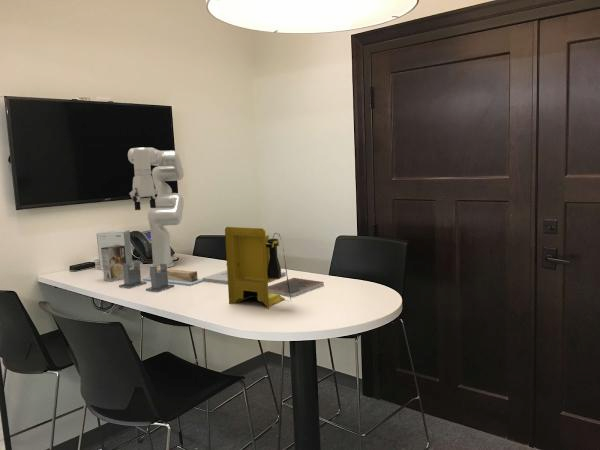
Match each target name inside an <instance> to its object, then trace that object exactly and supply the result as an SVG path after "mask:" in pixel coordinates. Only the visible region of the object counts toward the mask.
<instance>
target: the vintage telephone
mask: <svg viewBox="0 0 600 450" xmlns="http://www.w3.org/2000/svg"><path fill="white" fill-rule="evenodd" d="M275 234H276V235H278V236H279V238H280V239H282V237H281V235H280V233H277V232H274V234H273V236H272V238H270V236H269V234H267V233H266V229H264V228H263V227H241V226H226V227H225V229H224V237H225V254H226V270H227V275H228V284H227V286H228V287H227V289H228V290H227V292H228V305H231V304H232V305H233V304H235V305H236V304H238V303H240V302H243V301H245V300H246V299H249V298H252V297H253V298H257V301H258V302H262V304H264V305H265V307H266V309H267V310H270V307H272V306H274V305H276V304H279V303H280V302H282V301H285V302H286V301H287V302H288V300H287V299H286V298H285V297H283V296H282V295H279V294H271V293H268V286H269V283H271V282H272V281H271V280H273V281H276V280H277V281H278V280H280V279H281V278H282V277H281V272H282V269H281V268H282V267H281V265H280V261H279V258H278V247H279V246H280V241H279V239H278V238H274V237H275ZM281 242H282V244H283V241H281ZM284 250H285V249H284V248H283V252H285V251H284ZM283 258H284V260H286V257H285V255H283ZM286 265H287V263H286V262H284V267H285V268H287V266H286ZM285 272H286V280H287V283H288V279H289V277H288V271H287V269H285ZM288 290H289V284H288ZM289 294H290V290H289ZM289 299H290V300H292V297H291V296H290V297H289Z"/></svg>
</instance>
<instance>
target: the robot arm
mask: <svg viewBox="0 0 600 450" xmlns="http://www.w3.org/2000/svg"><path fill="white" fill-rule="evenodd" d="M127 158H128V161H129V162H130V163H131V164H133V168H134V170H133V171H134V176H133V178H132V190H131V191H130V192H129V193H128V194H129V195H130V199H131V200H132V202H134V210H135V211H141V208H142V207H141V201H140V200H141V198H149V206H150V207H149V208H150V209H149V210H148V212H147V220H148V224H149V230H150V240H151V241H150V242H151V252H152V263H151V264H150V266H149V268H150V267H151V266H155V267H157V268H160V264H167V269H169V268H171V267H174V266H175V262H174V261H177V260H178V256H172V253H171V240H170V232H169V231H168V229H167V228H166V226H178V225H180V224H181V222H182V219H183V212H184V197H183V195H182V194H181V193H179V192H177V193H176V192H173V190H172V189H173V188H171V185H169V184H168V183H166V182H171V181H172V182H175V181H181V180H183V178H184V176H185V175H184V174H185V173H184V168H183V165H182V162H181V158H180V155H179V154H178V152H177V151H176V150H172V149H171V150H159V149H157V148H154V147H133V148H132V147H131V148H130V149H129V150H128V152H127ZM151 166H155V167H154V168H152V169H151Z"/></svg>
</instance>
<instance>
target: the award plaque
mask: <svg viewBox="0 0 600 450" xmlns="http://www.w3.org/2000/svg"><path fill="white" fill-rule="evenodd" d="M285 276H286V277H287V275H286V271H281V278H283V277H285ZM201 279H202V280H203V281H204V283H211V282H212V283H211V284H219V285H228V275H227V269H226V270H223V271H220V272H216V273H214V274H211V275H207V276H205V277H202V278H201ZM271 282H274V280H271Z"/></svg>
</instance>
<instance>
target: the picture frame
mask: <svg viewBox="0 0 600 450" xmlns="http://www.w3.org/2000/svg"><path fill="white" fill-rule="evenodd" d="M288 284H289V290H290V294H289V290H288ZM324 286H325V285H324V281H319V280H313V279H307V278H306V279H305V278H298V277H292V278H288V283H287V279H286V280H282V281H280V282H277V283H273V284H271V285H268V293H271V294H279V295H280V296H281V297H283V296H284V297H287V298H288V297H289V298H290V296H291V298H294V297H297V296H300V295H303V294H305V293H307V292H310V291H312V290H317V289H318V288H321V287H324Z"/></svg>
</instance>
